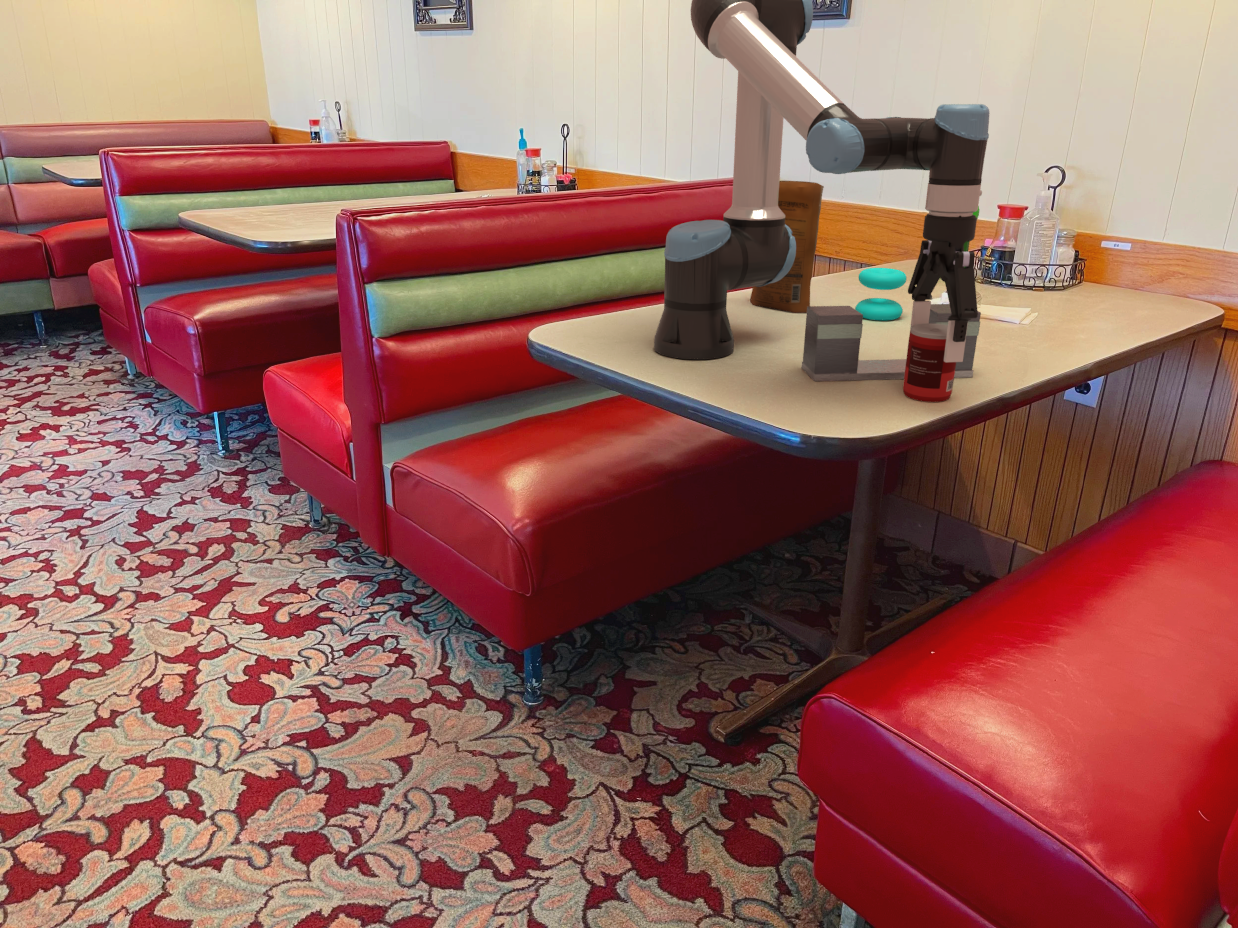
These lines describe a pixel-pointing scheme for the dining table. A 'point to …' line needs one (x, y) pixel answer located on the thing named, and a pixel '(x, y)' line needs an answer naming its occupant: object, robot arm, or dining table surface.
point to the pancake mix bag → (803, 220)
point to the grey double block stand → (839, 342)
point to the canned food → (928, 364)
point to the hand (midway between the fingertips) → (934, 350)
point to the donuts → (881, 281)
